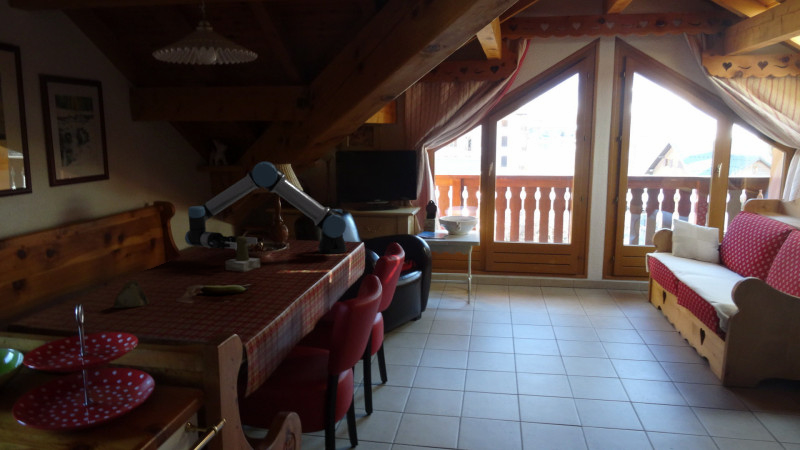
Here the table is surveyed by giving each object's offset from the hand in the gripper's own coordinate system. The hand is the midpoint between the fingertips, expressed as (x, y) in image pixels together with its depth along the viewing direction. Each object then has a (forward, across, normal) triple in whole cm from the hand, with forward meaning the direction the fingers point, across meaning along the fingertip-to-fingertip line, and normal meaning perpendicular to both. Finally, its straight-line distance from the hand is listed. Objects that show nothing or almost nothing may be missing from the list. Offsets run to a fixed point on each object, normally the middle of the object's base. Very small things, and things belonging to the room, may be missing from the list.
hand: (246, 243), depth 251 cm
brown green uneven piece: (+21, +35, -13) cm, 43 cm away
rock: (+2, +64, -12) cm, 65 cm away
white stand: (-3, 0, -12) cm, 12 cm away
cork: (-3, 0, -8) cm, 9 cm away
